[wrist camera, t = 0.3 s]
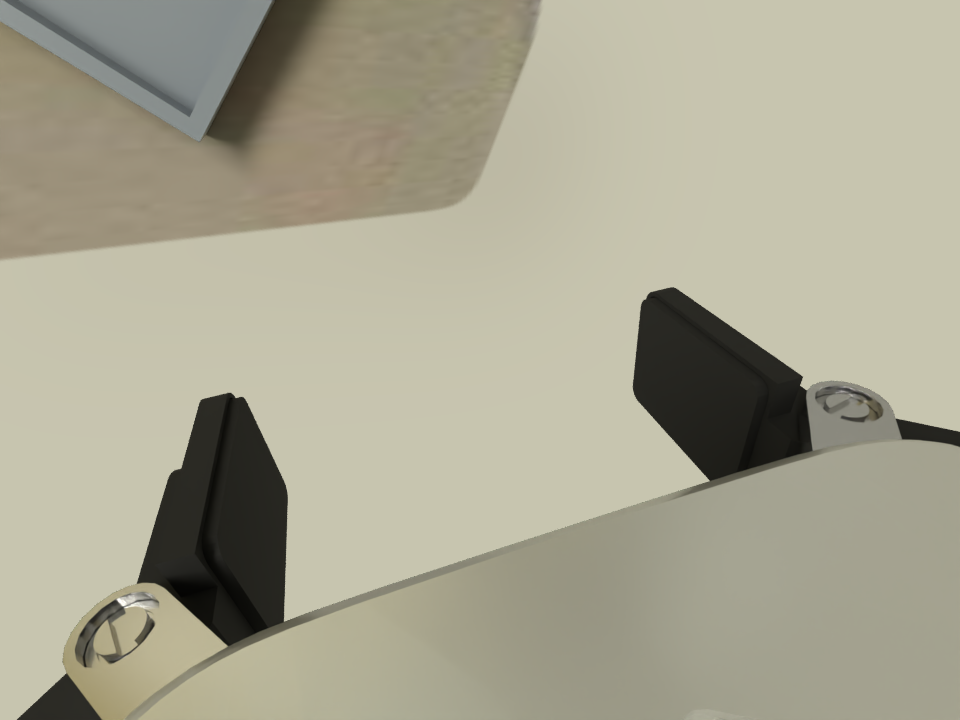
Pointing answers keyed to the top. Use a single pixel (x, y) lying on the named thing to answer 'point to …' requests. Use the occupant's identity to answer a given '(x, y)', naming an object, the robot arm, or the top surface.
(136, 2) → the tray
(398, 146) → the top surface
